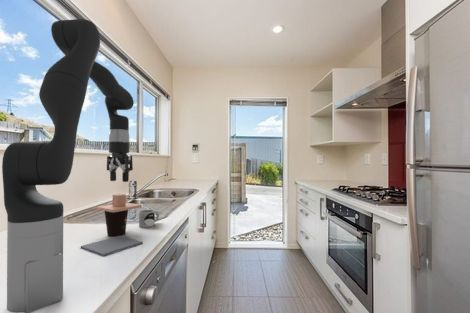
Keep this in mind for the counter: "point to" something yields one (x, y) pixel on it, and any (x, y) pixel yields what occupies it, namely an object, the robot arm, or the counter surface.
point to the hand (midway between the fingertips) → (119, 181)
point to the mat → (111, 245)
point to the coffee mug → (116, 223)
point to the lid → (118, 204)
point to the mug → (147, 218)
